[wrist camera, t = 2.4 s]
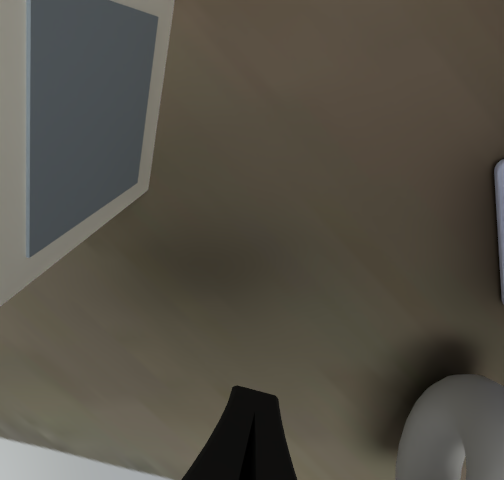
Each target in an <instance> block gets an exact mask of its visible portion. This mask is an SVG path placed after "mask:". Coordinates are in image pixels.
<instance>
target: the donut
mask: <svg viewBox="0 0 504 480" xmlns="http://www.w3.org/2000/svg"><path fill="white" fill-rule="evenodd" d="M465 456H466V467H467V473H466V480H504V386H502V385H500V384H498V383H496V382H494V381H492V380H490V379H488V378H486V377H484V376H481V375H475V374H459V375H451V376H447V377H445V378H443V379H442V380H440V381H438V382H436V383H434V384H433V385H431V386H430V387H428V388H427V389H426V390H425V392H424V393H423V394H422V395H421V396H420V397H419V399H418V400H417V401H416V402H415V404H414V406H413V408H412V410H411V412H410V414H409V416H408V418H407V420H406V423H405V426H404V429H403V432H402V436H401V439H400V442H399V448H398V454H397V461H396V478H395V480H460V479H461V470H462V465H463V462H464V459H465Z"/></svg>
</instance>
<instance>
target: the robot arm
mask: <svg viewBox="0 0 504 480" xmlns="http://www.w3.org/2000/svg"><path fill="white" fill-rule="evenodd" d="M494 178H495V194H496V211H497V228H498V245H499V262H500V278H501V295H502V303H503V304H504V159H503V160H501V161H499V162H498V163H497V165H496V166H495V169H494ZM182 480H297V477H296V474H295V471H294V468H293V464H292V461H291V457H290V454H289V450H288V446H287V442H286V438H285V434H284V430H283V425H282V420H281V415H280V409H279V401H278V398H277V397H276V396H275V395H271V394H267V393H264V392H260V391H256V390H252V389H249V388H245V387H241V386H234V387H232V391H231V394H230V398H229V401H228V403H227V406H226V408H225V410H224V412H223V414H222V416H221V418H220V420H219V422H218V424H217V426H216V427H215V429H214V431H213V433H212V434H211V436H210V438H209V440H208V441H207V443H206V445H205V446H204V448H203V449H202V451H201V452H200V454H199V455H198V457H197V458H196V460H195V461H194V463H193V464H192V466H191V467H190V469H189V470H188V471H187V473H186V474H185V476H184V477H183V478H182Z"/></svg>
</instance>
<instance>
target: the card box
mask: <svg viewBox="0 0 504 480" xmlns="http://www.w3.org/2000/svg"><path fill="white" fill-rule="evenodd" d="M174 1H175V0H0V306H2V305H3V304H4V303H5V302H7V301H8V300H9V299H10V298H12V297H13V296H14V295H15V294H17V293H18V292H19V291H21V290H22V289H23V288H24V287H26V286H27V285H28V284H29V283H31V282H32V281H33V280H35V279H36V278H37V277H38V276H40V275H41V274H42V273H43V272H45V271H46V270H47V269H49V268H50V267H51V266H52V265H54V264H55V263H56V262H57V261H59V260H60V259H61V258H63V257H64V256H65V255H66V254H68V253H69V252H70V251H71V250H73V249H74V248H75V247H76V246H78V245H79V244H80V243H82V242H83V241H84V240H85V239H87V238H88V237H89V236H90V235H92V234H93V233H94V232H96V231H97V230H98V229H99V228H101V227H102V226H103V225H104V224H106V223H107V222H108V221H110V220H111V219H112V218H113V217H115V216H116V215H117V214H118V213H120V212H121V211H122V210H123V209H125V208H126V207H127V206H129V205H130V204H131V203H132V202H134V201H135V200H136V199H137V198H139V197H140V196H141V195H143V194H144V193H145V192H146V191H148V187H149V180H150V173H151V166H152V159H153V152H154V144H155V137H156V130H157V123H158V116H159V109H160V102H161V94H162V87H163V80H164V73H165V66H166V59H167V51H168V44H169V37H170V30H171V23H172V16H173V8H174Z"/></svg>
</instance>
